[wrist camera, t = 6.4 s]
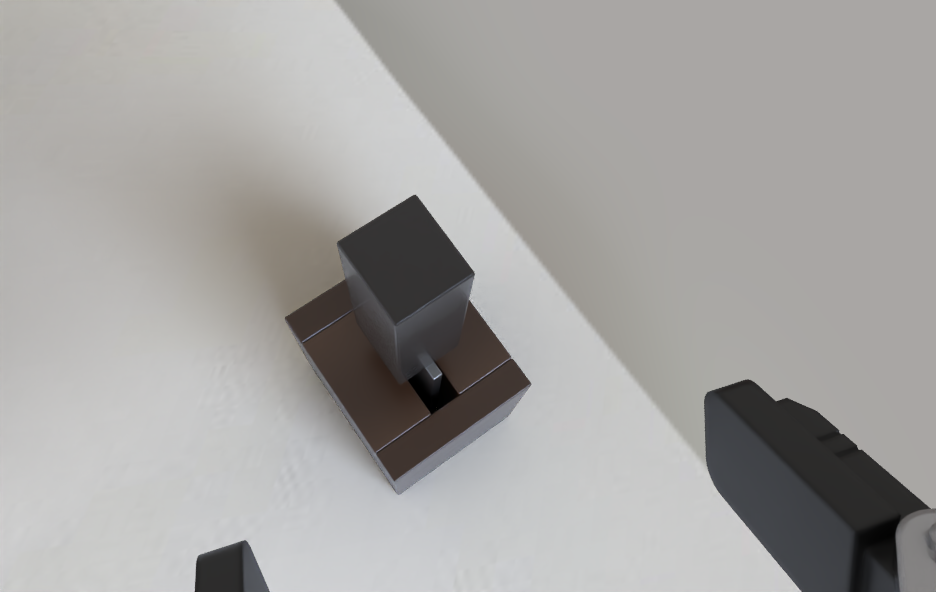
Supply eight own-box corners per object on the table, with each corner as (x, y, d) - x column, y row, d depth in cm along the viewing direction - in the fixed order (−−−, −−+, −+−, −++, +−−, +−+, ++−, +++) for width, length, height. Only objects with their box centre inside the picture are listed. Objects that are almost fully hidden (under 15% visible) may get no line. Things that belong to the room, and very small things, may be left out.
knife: (453, 406, 29) (487, 288, 16) (409, 436, 29) (407, 342, 16) (407, 342, 30) (404, 178, 17) (363, 371, 29) (324, 227, 16)
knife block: (509, 415, 29) (532, 384, 24) (398, 495, 28) (394, 482, 22) (417, 290, 31) (419, 231, 25) (308, 361, 29) (283, 317, 24)
